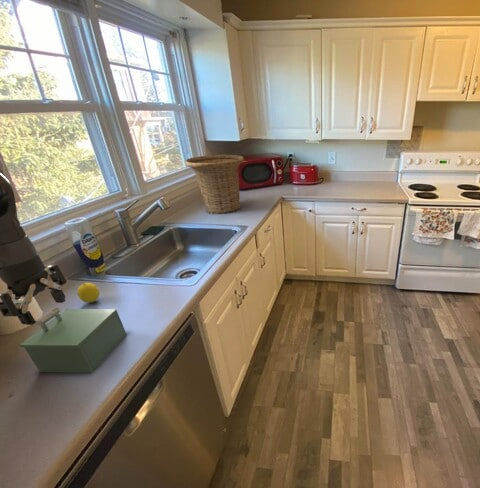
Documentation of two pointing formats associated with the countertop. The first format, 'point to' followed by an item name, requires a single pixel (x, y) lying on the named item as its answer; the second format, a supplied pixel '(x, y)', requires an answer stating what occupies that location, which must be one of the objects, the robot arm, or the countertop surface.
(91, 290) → the lemon
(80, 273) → the countertop surface
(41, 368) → the bin
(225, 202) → the wicker basket
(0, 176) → the robot arm
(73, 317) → the bin lid
